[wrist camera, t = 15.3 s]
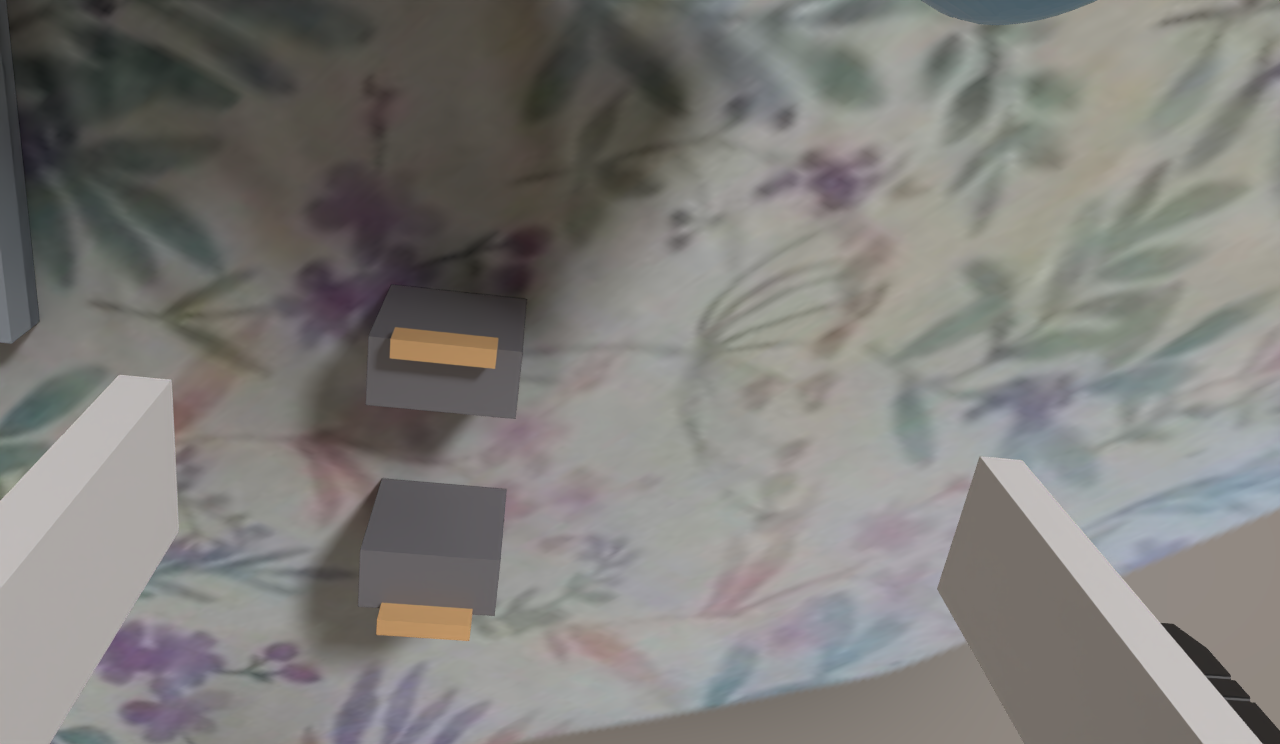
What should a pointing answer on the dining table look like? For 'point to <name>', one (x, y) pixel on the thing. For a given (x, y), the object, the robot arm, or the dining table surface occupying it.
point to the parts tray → (13, 209)
